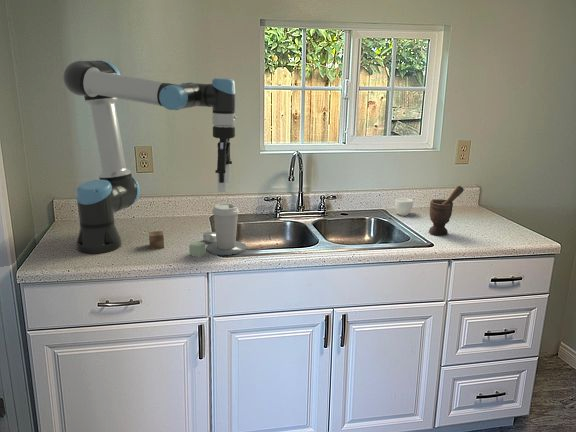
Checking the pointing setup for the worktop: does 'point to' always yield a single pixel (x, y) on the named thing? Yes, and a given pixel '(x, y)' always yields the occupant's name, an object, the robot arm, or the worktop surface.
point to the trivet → (237, 249)
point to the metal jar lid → (209, 237)
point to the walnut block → (156, 239)
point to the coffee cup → (225, 225)
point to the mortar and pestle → (442, 212)
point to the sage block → (197, 249)
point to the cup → (403, 206)
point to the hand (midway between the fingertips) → (224, 186)
